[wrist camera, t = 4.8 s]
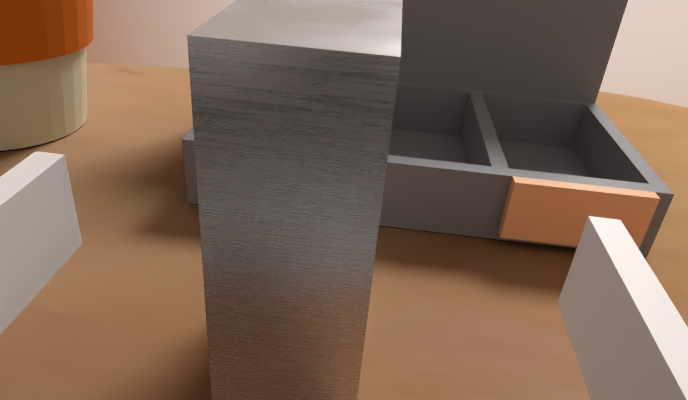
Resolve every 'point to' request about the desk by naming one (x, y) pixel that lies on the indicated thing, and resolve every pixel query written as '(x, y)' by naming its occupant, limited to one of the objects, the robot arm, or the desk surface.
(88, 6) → the reusable coffee cup
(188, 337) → the desk surface
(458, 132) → the rack
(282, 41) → the brushed metal block
